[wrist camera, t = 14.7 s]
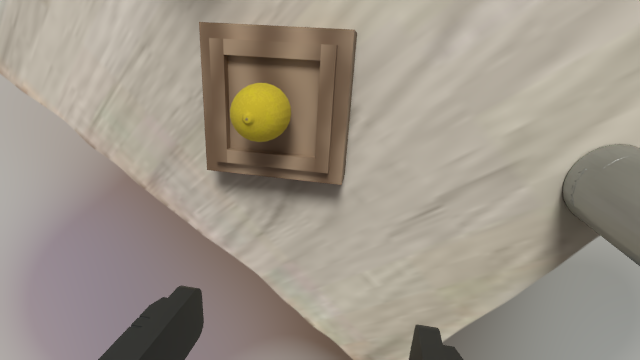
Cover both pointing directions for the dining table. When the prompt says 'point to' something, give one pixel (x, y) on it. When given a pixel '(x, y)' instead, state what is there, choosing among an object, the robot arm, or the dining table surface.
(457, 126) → the dining table surface
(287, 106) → the lemon
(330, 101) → the brown wooden crate
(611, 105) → the dining table surface
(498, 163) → the dining table surface
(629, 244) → the robot arm
